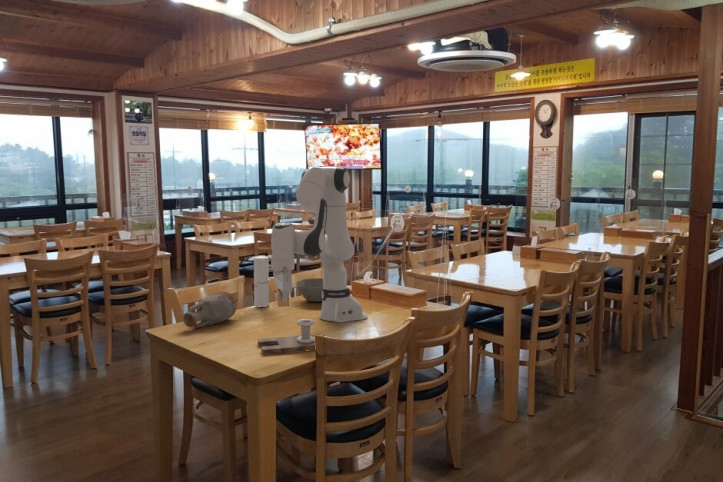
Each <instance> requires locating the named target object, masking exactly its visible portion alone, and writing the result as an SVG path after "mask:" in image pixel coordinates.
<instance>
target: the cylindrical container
mask: <svg viewBox="0 0 723 482" xmlns="http://www.w3.org/2000/svg"><path fill="white" fill-rule="evenodd" d="M269 267H270V266H269V256H266V255H265V256H264V255H258V256H254V257H253V295H254V296H253V297H254V298H253V299H254V300H253V302H254V305H253V306H256V307H259V306H261V307H266V308H268V307H267V306H270V302H269V299H270V298H269V297H270V295H269V293H270V291H269V290H270V289H269V287H270V283H269V281H270V280H269V279H270V278H269V272H270V271H269ZM256 307H255V308H256Z"/></svg>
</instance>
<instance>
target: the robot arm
mask: <svg viewBox="0 0 723 482" xmlns="http://www.w3.org/2000/svg"><path fill="white" fill-rule="evenodd" d="M350 182H351V175H350V172H349V171H348V169H347V168H346V167H342V166H337V167H336V166H317V165H314V166H312V165H311V166H309V167H308V168H306V169H305V170H304V171H303V172H302V174H301V178H300V182H299V184H298V187H297V189H296V193H295V198H296V201H297V203H298V204H299V205H300V206H301V207H302V209H305V210H306V211H308V212H309V213H310V212H311V213H313V214H314V220H313V226H312V228H311V229H296V228H294V225H293V223H292V222H288V221H282V222H277V223H275V224H273V226H272V230H271V236H270V237H271V238H270V241H271V242H270V247H271V256H270V258H271V259H270V261H271V264H270V265H271V266H270V267H271V268H270V269H271V270H272V274H273V283H274V285H276V287H277V289H280V290H281V291H282V302H287V295H288V293H289V294H292V292H293V278H292V271H294V270H295V254H296V255H306V256H311V257H317V256H318V255H319V256H320V262H321V267H322V268H321V269H322V279H323V288H322V303H321V310H320V314H319V317H318V318H319V319H320V320H323V321H329V322H334V323H346V322H347V323H348V322H353V321H360V320H361V321H362V320H367V319H368V315H367V313H366V312H364V311H363V307H362V304H361V303H360V302H359V301H358V300H357V299H356V298H354V297H353V296H352V295H354V290H353V289H351V288H349V287H348V286H347V284H348V283H347V282H348V280H347V278H348V277H347V274H348V273H347V269H346V267H345V264H344V261H348V260H350V259H351V258H353V256H354V254H355V246H354V244H353V241H352V239H351V235H350V232H349V228H348V223H347V222H348V221H347V200H346V199H347V198H346V192H345V191H346V190H347V189H348V188H349V186H350ZM325 233H326V234H325Z"/></svg>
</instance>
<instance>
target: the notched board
mask: <svg viewBox="0 0 723 482" xmlns="http://www.w3.org/2000/svg"><path fill="white" fill-rule="evenodd" d="M315 335H316V334H310V336H313V337H314V336H315ZM299 336H300V335H292V336H281V337H279V336H278V337H268V338H266V337H265V338H258V339H257V345H258V348H260V350H261V351H260V352H261V354H262V355H263V356H265V355H279V354H290V353H289V352H292V353H298V352H297V351H304V352H307V351H306V350H315V341H314V342H312V343H299V342H297V337H299Z"/></svg>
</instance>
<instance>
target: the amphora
mask: <svg viewBox="0 0 723 482" xmlns="http://www.w3.org/2000/svg"><path fill="white" fill-rule="evenodd" d="M238 301H239V299H238V298H236V297H234V295H232V293H229V292H228V291H223V290H220V291H217V292H215V293H212V294H210V295H208V296H205V297H204V298H202V299H200V300H199V301H198V303H196V304H194V305H191V306H190V307H189V309H188V311H187V312H185V313H184V314H183V315H182V321H183V324H184V325H185V326H186V327H187V328H194V329H198V328H202V327H204V326H212V325H215V324H218V323H222V322H224V321H227V320H229V319H230V318H232V317H233V316H234V315H235V314H236V311H237V308H238ZM195 310H196V311H195Z"/></svg>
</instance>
